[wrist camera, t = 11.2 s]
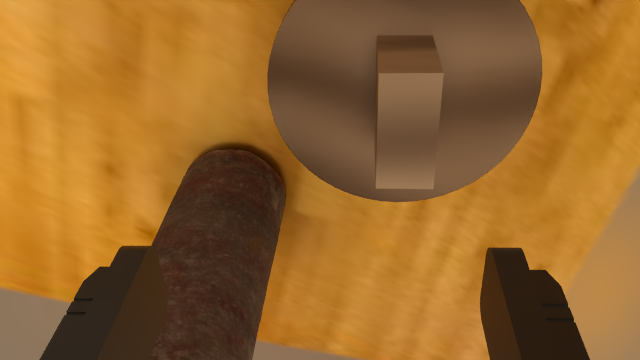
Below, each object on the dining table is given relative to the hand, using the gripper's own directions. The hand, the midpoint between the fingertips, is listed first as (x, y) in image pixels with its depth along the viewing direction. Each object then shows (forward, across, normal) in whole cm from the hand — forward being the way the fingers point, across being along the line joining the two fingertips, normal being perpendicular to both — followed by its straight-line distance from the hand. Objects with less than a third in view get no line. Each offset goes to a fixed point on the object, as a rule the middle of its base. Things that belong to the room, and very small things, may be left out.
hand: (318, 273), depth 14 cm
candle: (+25, +8, +14) cm, 29 cm away
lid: (+20, -3, +4) cm, 20 cm away
